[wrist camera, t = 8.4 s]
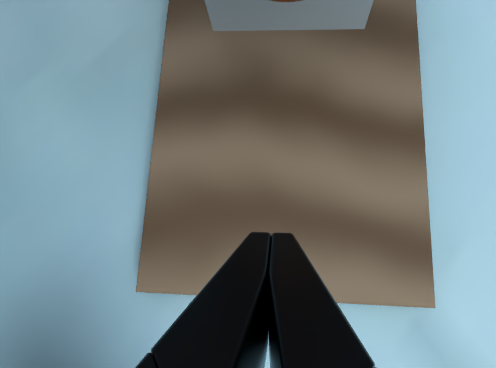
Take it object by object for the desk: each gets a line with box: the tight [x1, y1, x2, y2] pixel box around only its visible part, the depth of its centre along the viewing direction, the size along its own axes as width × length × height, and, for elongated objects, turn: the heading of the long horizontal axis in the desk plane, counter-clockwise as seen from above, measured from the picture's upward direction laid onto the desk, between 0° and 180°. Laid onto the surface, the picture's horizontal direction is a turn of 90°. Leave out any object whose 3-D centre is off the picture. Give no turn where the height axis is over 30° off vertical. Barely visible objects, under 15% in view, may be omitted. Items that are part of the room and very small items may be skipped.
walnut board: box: [136, 0, 435, 308], centre depth 23 cm, size 20×15×1 cm
